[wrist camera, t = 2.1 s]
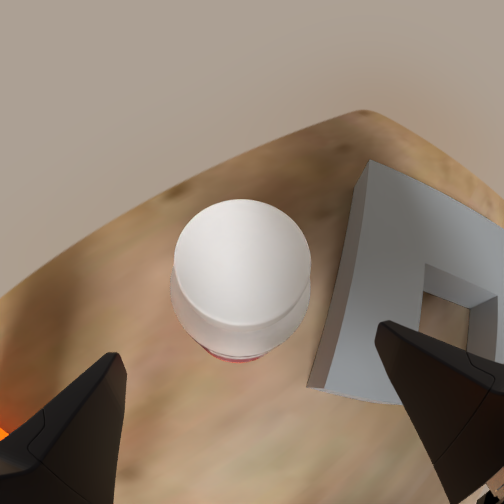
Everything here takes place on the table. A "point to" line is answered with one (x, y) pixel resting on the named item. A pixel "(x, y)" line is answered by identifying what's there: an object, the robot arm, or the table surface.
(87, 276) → the table surface
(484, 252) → the notched board
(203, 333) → the pill bottle
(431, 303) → the table surface
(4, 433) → the orange juice
